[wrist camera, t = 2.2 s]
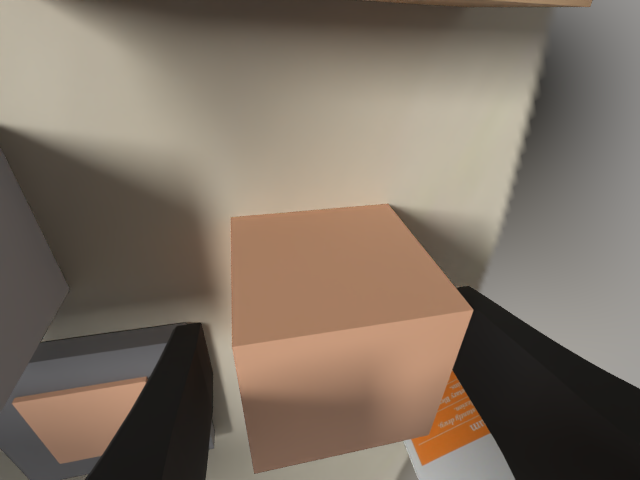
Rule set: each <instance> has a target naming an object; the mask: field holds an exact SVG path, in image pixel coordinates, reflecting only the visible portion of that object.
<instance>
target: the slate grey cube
mask: <svg viewBox="0 0 640 480" xmlns="http://www.w3.org/2000/svg"><path fill="white" fill-rule="evenodd" d="M69 290H70V289H69V286H68V284H67V282H66V280H65V278H64V276H63V274H62V272H61V270H60V268H59V266H58V264H57V262H56V260H55V258H54V256H53V254H52V252H51V250H50V248H49V246H48V244H47V241H46V239H45V237H44V235H43V233H42V231H41V229H40V227H39V225H38V223H37V221H36V219H35V217H34V215H33V213H32V211H31V209H30V207H29V205H28V203H27V201H26V199H25V196H24V194H23V192H22V190H21V188H20V186H19V184H18V182H17V180H16V178H15V176H14V174H13V172H12V170H11V168H10V166H9V164H8V162H7V160H6V158H5V156H4V154H3V151H2V149H1V147H0V413H1V411H2V409H3V408H4V406H5V404H6V402H7V401H8V399H9V397H10V395H11V393H12V392H13V390H14V388H15V386H16V385H17V383H18V381H19V379H20V377H21V376H22V374H23V372H24V370H25V368H26V367H27V365H28V363H29V361H30V360H31V358H32V356H33V354H34V352H35V351H36V349H37V347H38V345H39V343H40V342H41V340H42V338H43V336H44V335H45V333H46V331H47V329H48V327H49V326H50V324H51V322H52V320H53V318H54V317H55V315H56V313H57V311H58V310H59V308H60V306H61V304H62V302H63V301H64V299H65V297H66V295H67V294H68V292H69Z"/></svg>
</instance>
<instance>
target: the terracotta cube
mask: <svg viewBox="0 0 640 480" xmlns="http://www.w3.org/2000/svg"><path fill="white" fill-rule="evenodd" d="M231 285H232V349H233V354H234V360H235V366H236V372H237V377H238V383H239V389H240V394H241V400H242V406H243V412H244V417H245V423H246V429H247V434H248V440H249V446H250V452H251V457H252V463H253V469H254V474H256V473H260V472H265V471H269V470H274V469H278V468H283V467H287V466H292V465H296V464H301V463H305V462H310V461H314V460H319V459H323V458H328V457H332V456H337V455H341V454H346V453H350V452H355V451H359V450H364V449H368V448H373V447H377V446H382V445H386V444H391V443H395V442H400V441H404V440H409V439H413V438H418V437H422V436H427V435H429V433H430V430H431V428H432V425H433V422H434V419H435V416H436V414H437V411H438V408H439V405H440V402H441V400H442V397H443V394H444V391H445V389H446V386H447V383H448V380H449V377H450V375H451V372H452V369H453V366H454V363H455V361H456V358H457V355H458V352H459V349H460V347H461V344H462V341H463V338H464V335H465V333H466V330H467V327H468V324H469V321H470V319H471V316H472V313H473V309H472V307H471V306H470V305H469V304H468V302H467V301H466V300H465V299H464V297H463V296H462V295H461V294H460V292H459V291H458V290H457V289H456V287H455V286H454V285H453V284H452V283H451V281H450V280H449V279H448V278H447V276H446V275H445V274H444V273H443V271H442V270H441V269H440V268H439V266H438V265H437V264H436V263H435V261H434V260H433V259H432V258H431V256H430V255H429V254H428V253H427V252H426V250H425V249H424V248H423V247H422V245H421V244H420V243H419V242H418V240H417V239H416V238H415V237H414V235H413V234H412V233H411V232H410V230H409V229H408V228H407V227H406V226H405V224H404V223H403V222H402V221H401V219H400V218H399V217H398V216H397V214H396V213H395V212H394V211H393V209H392V208H391V207H390V206H389V204H380V205H368V206H357V207H345V208H333V209H322V210H310V211H299V212H287V213H275V214H264V215H252V216H240V217H231Z"/></svg>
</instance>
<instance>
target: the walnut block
mask: <svg viewBox="0 0 640 480" xmlns="http://www.w3.org/2000/svg"><path fill="white" fill-rule="evenodd" d="M359 1H376V2H393V3H409V4H426V5H443V6H460V7H590V6H591V3H592V0H359Z"/></svg>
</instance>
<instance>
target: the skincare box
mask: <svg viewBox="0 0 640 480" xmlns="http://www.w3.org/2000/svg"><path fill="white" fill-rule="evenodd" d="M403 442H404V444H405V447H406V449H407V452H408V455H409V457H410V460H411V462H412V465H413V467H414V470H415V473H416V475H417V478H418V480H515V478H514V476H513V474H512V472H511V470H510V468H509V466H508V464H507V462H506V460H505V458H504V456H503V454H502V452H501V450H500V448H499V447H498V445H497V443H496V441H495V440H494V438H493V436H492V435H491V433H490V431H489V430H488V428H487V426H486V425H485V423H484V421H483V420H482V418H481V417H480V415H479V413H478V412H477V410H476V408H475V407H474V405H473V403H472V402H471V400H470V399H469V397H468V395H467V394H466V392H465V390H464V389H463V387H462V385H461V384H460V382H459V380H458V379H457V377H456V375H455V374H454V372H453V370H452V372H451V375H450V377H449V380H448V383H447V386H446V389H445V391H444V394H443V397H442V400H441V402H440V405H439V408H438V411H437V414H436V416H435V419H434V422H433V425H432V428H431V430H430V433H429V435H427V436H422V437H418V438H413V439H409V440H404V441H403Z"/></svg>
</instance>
